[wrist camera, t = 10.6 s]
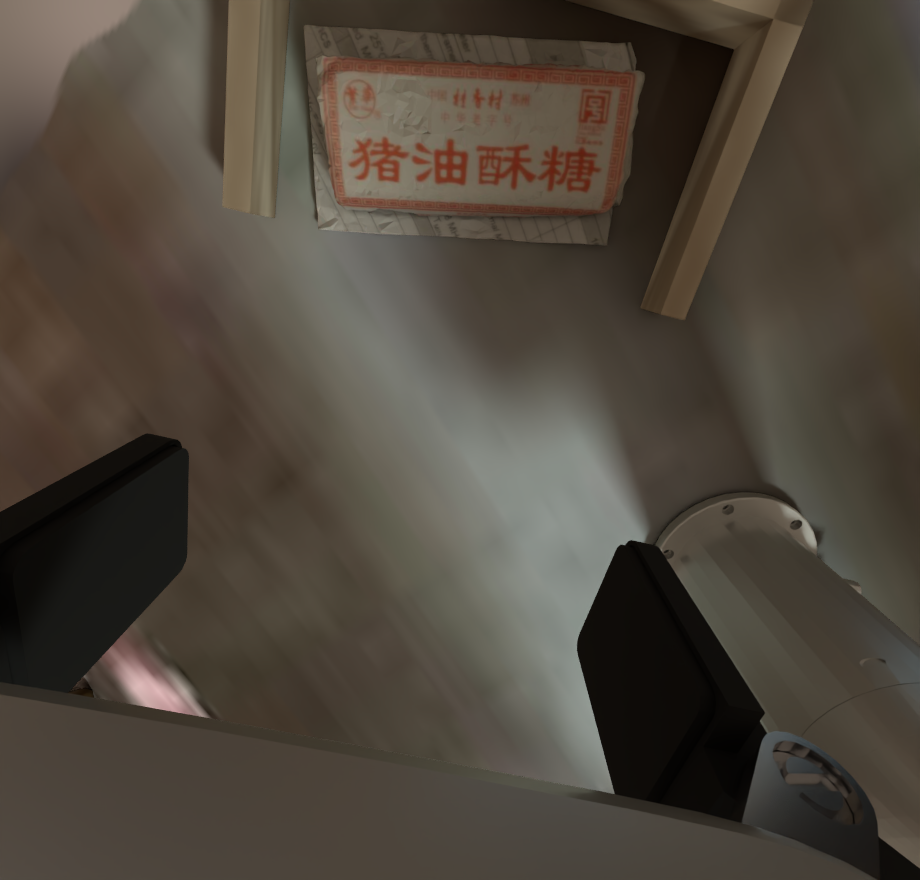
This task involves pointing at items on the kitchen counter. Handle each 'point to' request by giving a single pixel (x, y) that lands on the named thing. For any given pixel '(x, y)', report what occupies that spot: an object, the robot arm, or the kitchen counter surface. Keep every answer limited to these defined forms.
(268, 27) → the wooden frame
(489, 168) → the packaged product
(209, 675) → the kitchen counter surface
